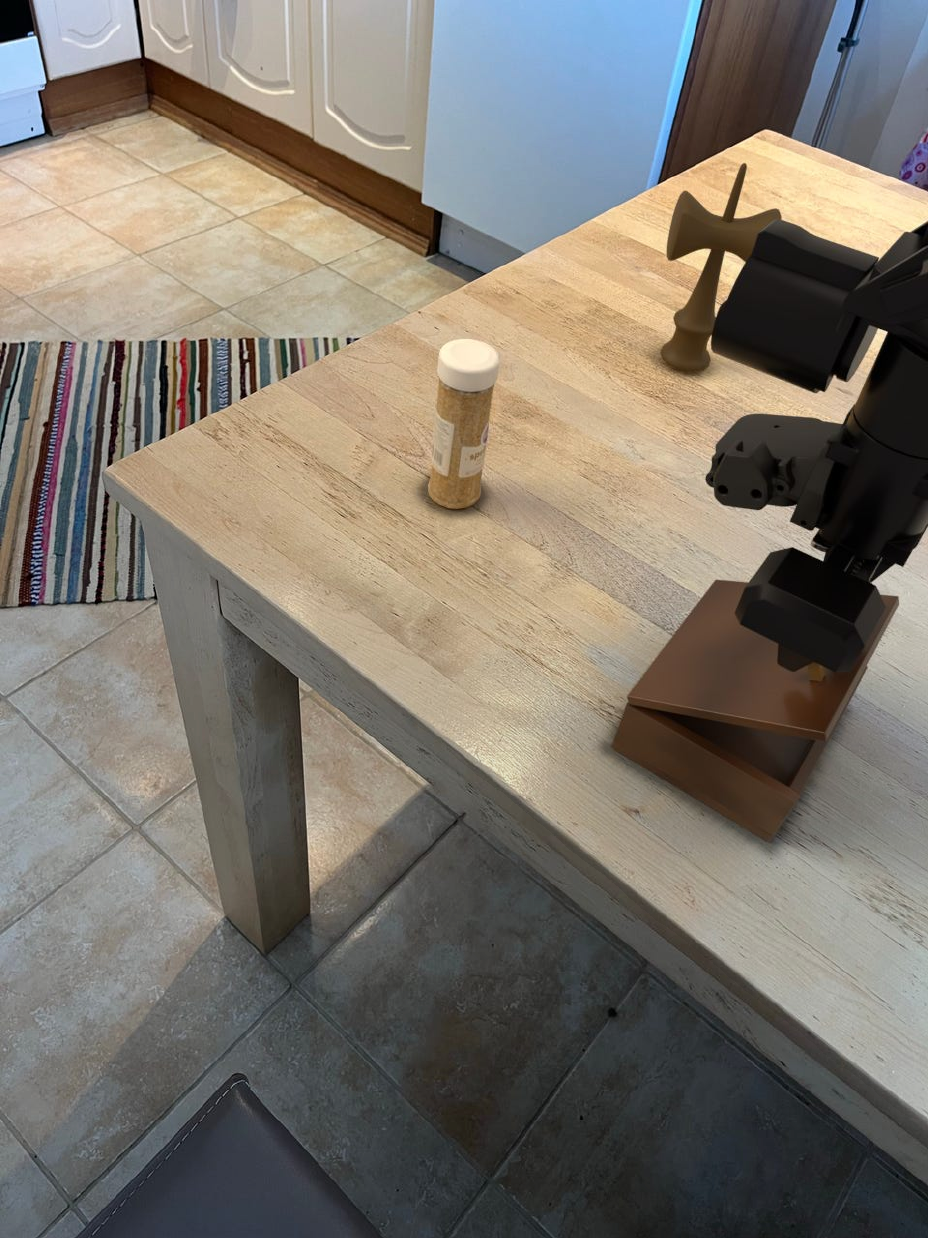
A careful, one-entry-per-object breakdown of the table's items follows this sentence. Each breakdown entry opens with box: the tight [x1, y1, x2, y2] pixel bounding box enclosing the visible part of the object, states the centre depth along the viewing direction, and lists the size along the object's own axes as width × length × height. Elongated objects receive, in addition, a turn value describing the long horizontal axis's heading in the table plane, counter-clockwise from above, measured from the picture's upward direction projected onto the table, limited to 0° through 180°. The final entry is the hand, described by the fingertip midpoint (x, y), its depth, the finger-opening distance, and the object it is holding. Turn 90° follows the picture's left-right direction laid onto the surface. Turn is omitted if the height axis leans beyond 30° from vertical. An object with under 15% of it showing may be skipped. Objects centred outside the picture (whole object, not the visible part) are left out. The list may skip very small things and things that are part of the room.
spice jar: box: [427, 338, 500, 510], centre depth 75 cm, size 5×5×13 cm
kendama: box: [660, 162, 783, 373], centre depth 90 cm, size 6×10×20 cm, turn 81°
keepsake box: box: [610, 665, 869, 843], centre depth 64 cm, size 12×14×5 cm
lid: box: [626, 579, 900, 742], centre depth 59 cm, size 12×14×4 cm
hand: (803, 638), depth 58 cm, fingers closed on lid, 5 cm apart
